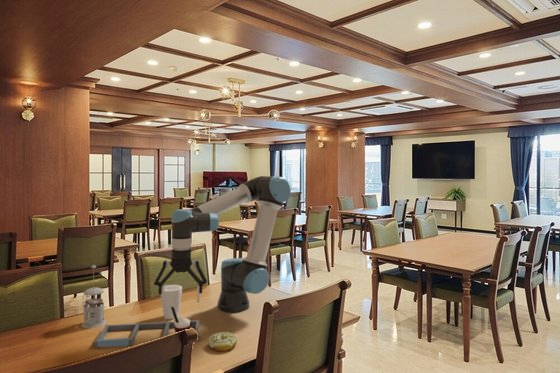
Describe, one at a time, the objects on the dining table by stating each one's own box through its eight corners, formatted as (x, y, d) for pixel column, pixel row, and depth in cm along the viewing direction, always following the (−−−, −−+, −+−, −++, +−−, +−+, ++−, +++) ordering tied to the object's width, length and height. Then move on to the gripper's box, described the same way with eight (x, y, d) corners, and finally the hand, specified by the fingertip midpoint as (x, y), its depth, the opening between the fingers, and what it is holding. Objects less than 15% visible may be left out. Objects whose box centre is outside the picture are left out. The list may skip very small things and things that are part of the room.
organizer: (199, 324, 169) (199, 319, 169) (197, 341, 152) (197, 334, 152) (106, 329, 163) (106, 323, 162) (94, 347, 146) (94, 341, 146)
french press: (90, 330, 162) (89, 269, 161) (73, 324, 168) (73, 265, 168) (111, 322, 171) (111, 264, 170) (95, 317, 177) (94, 261, 176)
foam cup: (176, 321, 172) (176, 291, 172) (156, 319, 174) (156, 290, 174) (185, 313, 182) (185, 285, 181) (166, 312, 183) (166, 284, 183)
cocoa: (190, 330, 164) (191, 301, 164) (195, 335, 158) (195, 304, 159) (166, 333, 159) (167, 303, 159) (170, 339, 154) (172, 307, 154)
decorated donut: (207, 353, 143) (207, 342, 143) (210, 340, 154) (210, 330, 154) (236, 352, 144) (236, 341, 144) (237, 339, 155) (237, 330, 154)
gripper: (213, 246, 164) (212, 297, 164) (150, 247, 159) (149, 299, 160) (213, 250, 156) (212, 303, 157) (146, 250, 152) (146, 306, 153)
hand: (180, 301), depth 158 cm, fingers open, 13 cm apart
